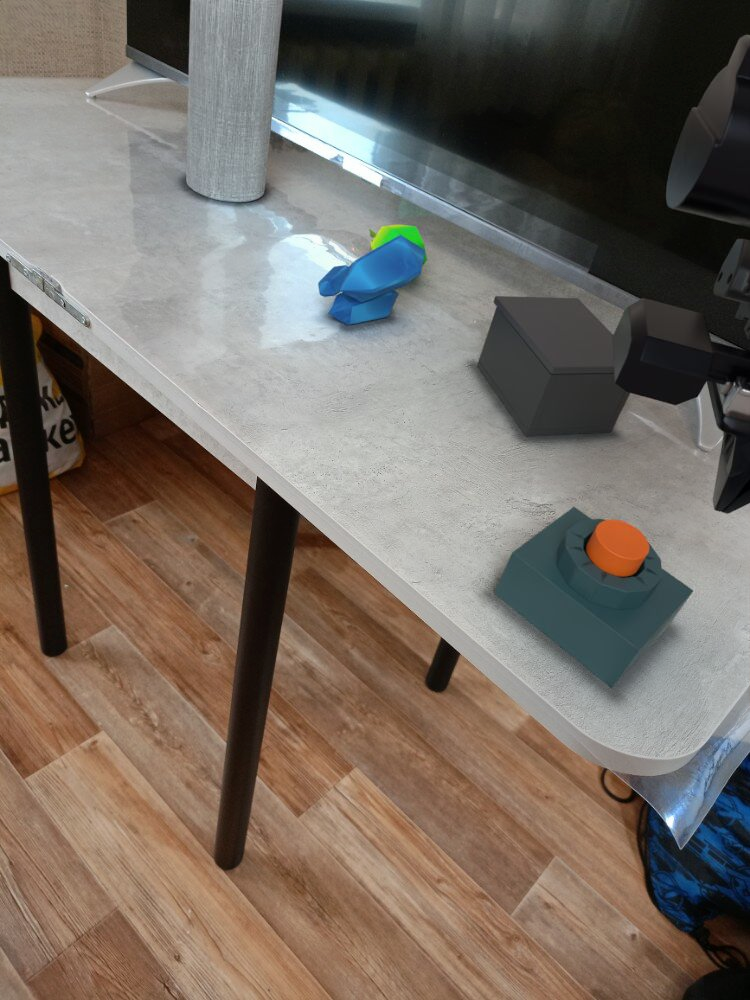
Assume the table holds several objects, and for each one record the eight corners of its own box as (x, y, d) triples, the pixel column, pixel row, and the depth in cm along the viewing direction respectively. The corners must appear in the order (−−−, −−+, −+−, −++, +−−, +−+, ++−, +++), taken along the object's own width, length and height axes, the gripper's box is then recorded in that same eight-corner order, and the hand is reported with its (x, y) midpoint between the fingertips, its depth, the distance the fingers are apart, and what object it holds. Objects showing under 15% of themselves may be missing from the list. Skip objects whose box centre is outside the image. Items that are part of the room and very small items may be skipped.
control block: (666, 628, 54) (706, 572, 50) (611, 688, 49) (651, 631, 45) (554, 545, 58) (583, 488, 54) (493, 593, 53) (520, 533, 49)
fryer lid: (492, 302, 72) (495, 295, 72) (575, 304, 76) (578, 297, 75) (551, 374, 64) (553, 367, 64) (640, 373, 67) (644, 366, 67)
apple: (429, 226, 81) (377, 191, 86) (387, 268, 81) (338, 231, 86) (446, 266, 87) (398, 232, 92) (408, 305, 88) (361, 269, 92)
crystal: (302, 247, 73) (396, 207, 78) (307, 321, 79) (393, 279, 84) (350, 283, 69) (445, 238, 74) (351, 357, 76) (438, 311, 81)
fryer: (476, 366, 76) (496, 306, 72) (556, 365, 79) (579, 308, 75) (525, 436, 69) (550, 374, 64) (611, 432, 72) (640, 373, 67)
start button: (647, 561, 50) (659, 543, 49) (622, 585, 48) (633, 567, 47) (603, 529, 52) (613, 511, 51) (575, 552, 50) (585, 533, 48)
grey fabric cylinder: (279, 192, 100) (306, -56, 82) (232, 210, 93) (250, -58, 75) (219, 166, 102) (232, -80, 84) (169, 182, 95) (171, -83, 77)
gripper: (1014, 245, 40) (841, 469, 50) (669, 156, 41) (568, 394, 51) (1127, 344, 31) (891, 589, 42) (689, 229, 32) (564, 496, 43)
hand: (719, 507), depth 45 cm, fingers closed
